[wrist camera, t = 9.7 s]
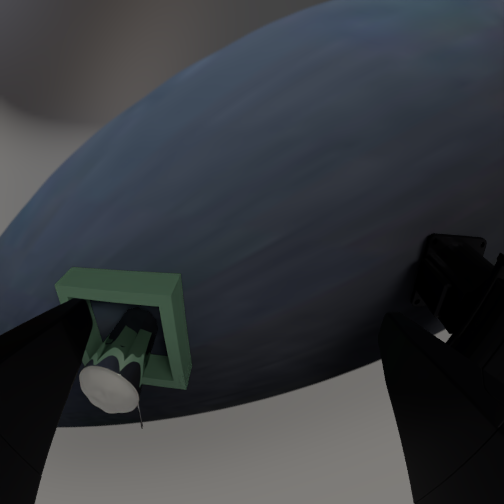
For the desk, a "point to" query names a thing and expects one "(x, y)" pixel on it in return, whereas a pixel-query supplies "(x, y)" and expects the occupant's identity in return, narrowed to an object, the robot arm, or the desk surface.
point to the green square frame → (140, 293)
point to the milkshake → (121, 363)
